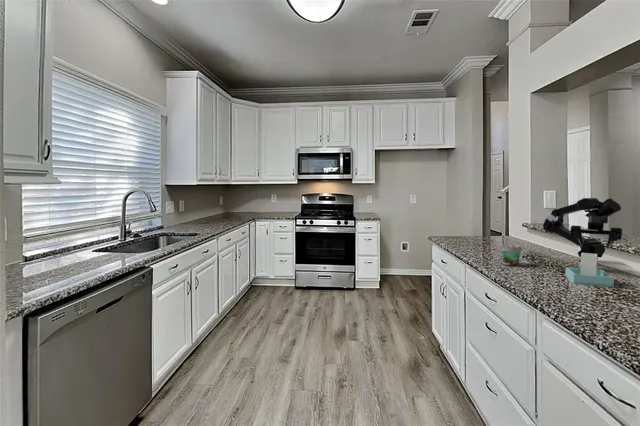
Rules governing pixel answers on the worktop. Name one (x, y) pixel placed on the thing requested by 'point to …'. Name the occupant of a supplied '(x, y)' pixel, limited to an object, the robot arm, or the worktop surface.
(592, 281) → the crate
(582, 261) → the white hollow square box
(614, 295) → the worktop surface
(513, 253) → the food container
